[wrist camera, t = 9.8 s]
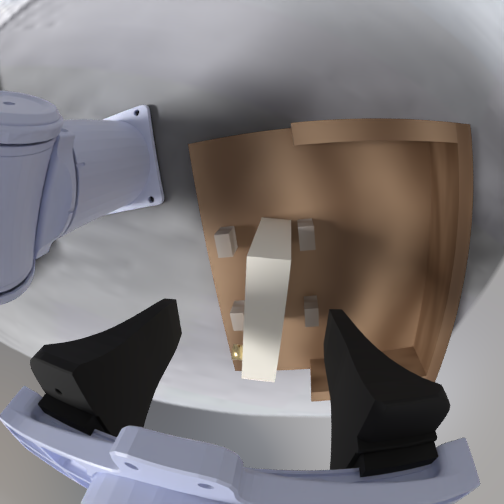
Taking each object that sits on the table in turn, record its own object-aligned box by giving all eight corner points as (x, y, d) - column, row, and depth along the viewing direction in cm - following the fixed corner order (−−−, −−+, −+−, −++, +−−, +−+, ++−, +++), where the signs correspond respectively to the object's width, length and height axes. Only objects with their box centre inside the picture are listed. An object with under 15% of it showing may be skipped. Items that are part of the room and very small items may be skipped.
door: (245, 314, 22) (228, 376, 16) (250, 216, 19) (229, 254, 13) (280, 317, 22) (274, 382, 16) (291, 220, 19) (290, 260, 13)
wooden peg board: (237, 362, 26) (227, 402, 21) (193, 144, 19) (163, 145, 14) (417, 345, 23) (434, 382, 18) (432, 126, 16) (470, 124, 11)
